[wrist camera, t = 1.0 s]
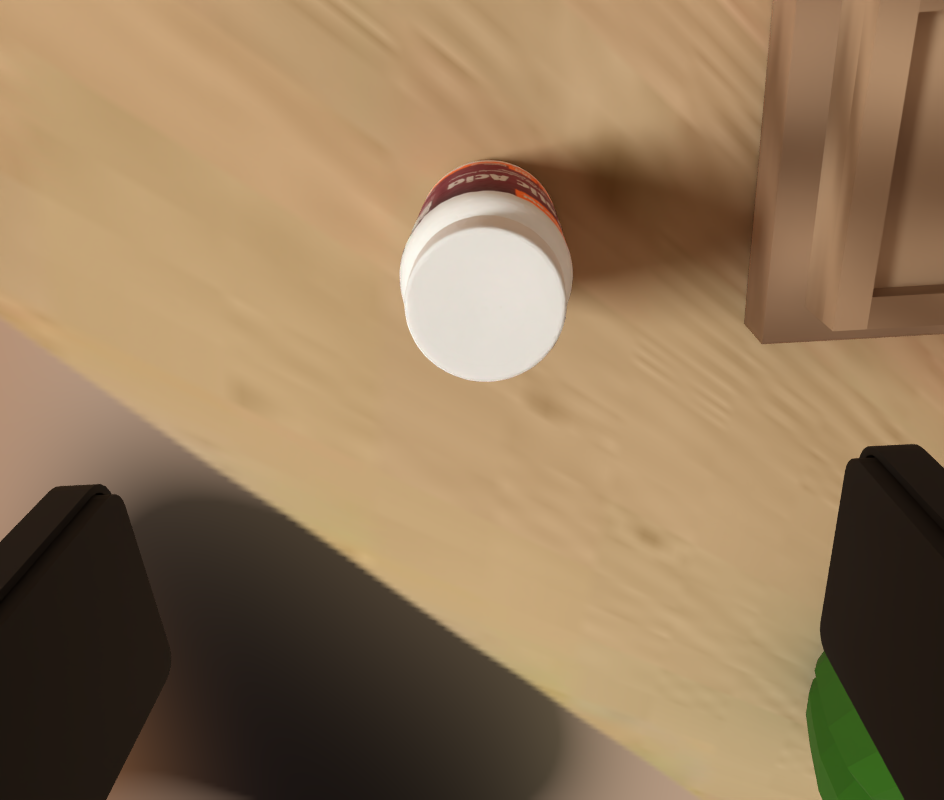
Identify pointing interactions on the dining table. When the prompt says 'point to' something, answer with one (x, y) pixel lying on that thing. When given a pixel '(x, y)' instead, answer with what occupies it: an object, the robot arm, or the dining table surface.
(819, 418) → the dining table surface
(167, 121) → the dining table surface
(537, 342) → the pill bottle
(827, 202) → the plinth
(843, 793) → the bell pepper
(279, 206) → the dining table surface
